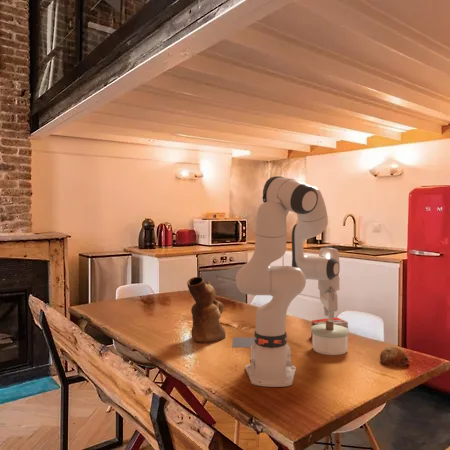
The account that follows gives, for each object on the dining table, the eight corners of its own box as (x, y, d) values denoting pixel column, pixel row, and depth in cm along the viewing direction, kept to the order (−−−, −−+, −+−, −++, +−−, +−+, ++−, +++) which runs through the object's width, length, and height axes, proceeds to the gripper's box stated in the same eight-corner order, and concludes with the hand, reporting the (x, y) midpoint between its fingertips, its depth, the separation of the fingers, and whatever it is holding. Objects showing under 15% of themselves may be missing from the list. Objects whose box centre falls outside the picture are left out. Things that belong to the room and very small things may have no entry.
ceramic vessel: (232, 337, 191) (231, 274, 190) (204, 350, 173) (203, 280, 172) (205, 332, 200) (205, 271, 199) (176, 344, 182) (175, 277, 181)
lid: (353, 338, 165) (353, 326, 165) (313, 337, 167) (313, 326, 167) (344, 327, 181) (344, 316, 181) (308, 326, 183) (308, 316, 182)
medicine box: (320, 342, 185) (320, 324, 184) (310, 336, 192) (310, 320, 192) (348, 338, 190) (348, 321, 190) (337, 333, 198) (337, 317, 197)
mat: (264, 348, 176) (264, 347, 176) (231, 347, 177) (231, 347, 177) (263, 338, 190) (263, 337, 190) (233, 337, 191) (233, 337, 191)
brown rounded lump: (389, 365, 165) (381, 346, 167) (414, 360, 159) (405, 340, 161) (381, 373, 158) (372, 352, 160) (407, 367, 152) (397, 346, 154)
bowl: (350, 355, 167) (350, 337, 166) (315, 354, 168) (315, 336, 168) (343, 344, 181) (343, 327, 181) (310, 343, 182) (310, 327, 182)
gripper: (341, 289, 163) (341, 323, 163) (331, 282, 184) (331, 313, 184) (325, 289, 164) (325, 323, 164) (317, 282, 184) (317, 312, 184)
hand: (328, 317), depth 174 cm, fingers open, 8 cm apart
